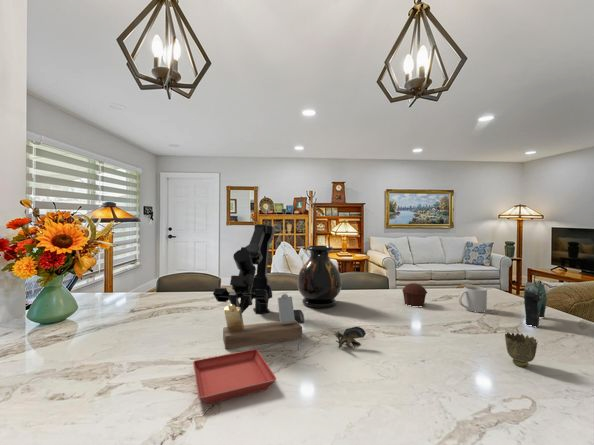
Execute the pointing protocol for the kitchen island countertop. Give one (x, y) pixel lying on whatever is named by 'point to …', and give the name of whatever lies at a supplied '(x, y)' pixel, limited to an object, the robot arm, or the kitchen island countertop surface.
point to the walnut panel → (262, 334)
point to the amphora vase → (319, 279)
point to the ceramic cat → (534, 302)
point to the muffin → (414, 294)
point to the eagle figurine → (349, 336)
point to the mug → (474, 298)
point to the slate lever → (286, 309)
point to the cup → (521, 348)
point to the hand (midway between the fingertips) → (235, 318)
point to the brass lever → (234, 318)
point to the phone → (298, 316)
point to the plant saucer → (232, 375)
